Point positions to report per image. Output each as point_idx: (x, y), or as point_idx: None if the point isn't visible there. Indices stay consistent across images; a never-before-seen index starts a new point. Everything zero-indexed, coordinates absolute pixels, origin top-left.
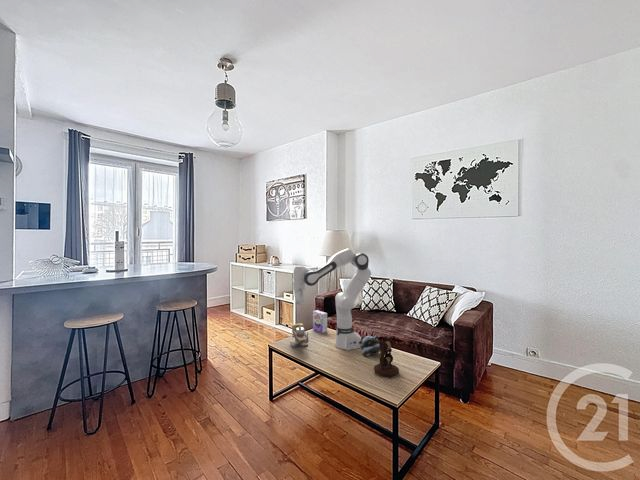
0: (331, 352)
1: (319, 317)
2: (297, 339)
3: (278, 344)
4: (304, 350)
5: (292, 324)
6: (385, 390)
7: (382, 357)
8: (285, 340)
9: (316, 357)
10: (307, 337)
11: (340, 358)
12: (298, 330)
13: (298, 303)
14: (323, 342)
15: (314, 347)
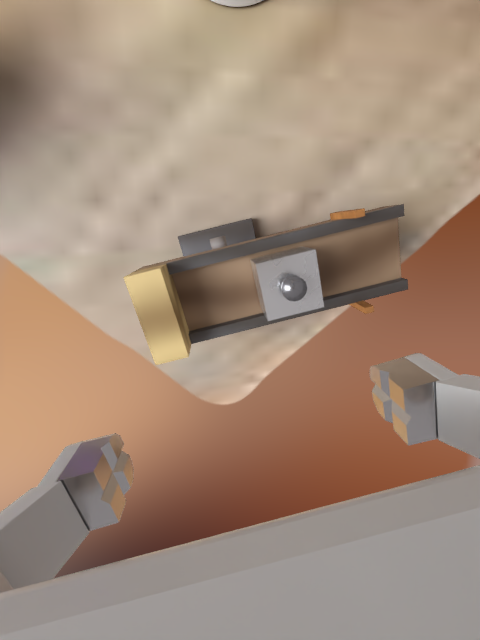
0: (352, 52)
1: None
2: (405, 286)
3: (214, 383)
4: None
5: (165, 361)
6: None
7: None
8: (152, 358)
9: (408, 161)
10: (392, 212)
11: None
12: (320, 295)
13: (114, 458)
14: (173, 106)
15: (263, 175)
